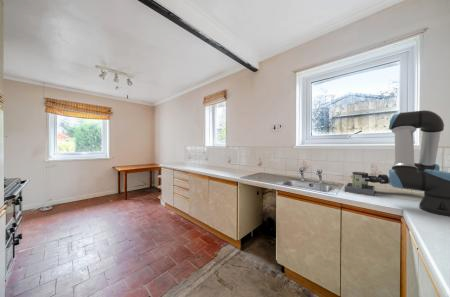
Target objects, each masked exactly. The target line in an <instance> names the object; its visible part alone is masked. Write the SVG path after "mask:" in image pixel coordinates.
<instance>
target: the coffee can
mask: <svg viewBox="0 0 450 297" xmlns="http://www.w3.org/2000/svg"><path fill="white" fill-rule="evenodd" d="M351 173H352V174H351V175H352V178H351V179H352V182H351V183H352V187H355V188H362V189H368V185H369V182H359V178H368V176H369V173H368V172H362V171H352V172H351Z"/></svg>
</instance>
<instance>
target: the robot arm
mask: <svg viewBox="0 0 450 297" xmlns="http://www.w3.org/2000/svg"><path fill="white" fill-rule="evenodd" d="M417 129H420V131H421V132H422V133H421V134H422V135H421V142H420V152H419V159H418V162H415V145H414V133H415V132H416V131H417ZM444 129H445V123H444V121H443V118H442V117H441V116H440V115H439V114H438V113H436V112H434V111H431V110H425V109H424V110H418V111H417V110H414V111H405V112H396V113H395V112H393V113H392V114H391V116H390V120H389V125H388V130H390V131H391V133H393V134H394V165H392V166H391V169H388V174H384V173H383V174H378V175H368V178H359V182H368V183H373V184H374V183H375V184H377V183H378V184H382V185H390V186H391V187H393V188H396V189H402V190H403V189H405V190H411V191H419V192H424V193H423V197H422V198H421V200H420V202H419V206H418V207H419V209H421V210H423V211H425V212H428V213H433V214H436V215H442V216H448V217H450V172H448V171H443V170H440V169H441V168H440V165H439V164H437V163H436V162H437V156H438V150H439V143H440V139H441V138H440V137H441V132H443V131H444ZM352 175H353V174H350V178H351V179H352Z"/></svg>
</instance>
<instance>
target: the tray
mask: <svg viewBox="0 0 450 297" xmlns="http://www.w3.org/2000/svg"><path fill="white" fill-rule="evenodd" d="M375 190H376V186H375V185H370V184H368V189H362V188H355V187H352V182H347V183H346V184H345V185H344V192H349V193H353V194H354V193H355V194H362V195H368V196H375V192H376V191H375Z"/></svg>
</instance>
